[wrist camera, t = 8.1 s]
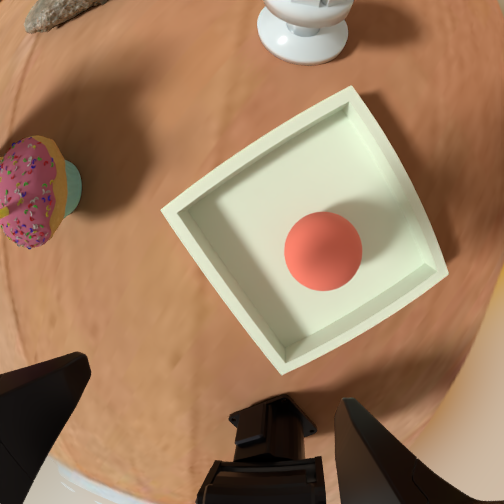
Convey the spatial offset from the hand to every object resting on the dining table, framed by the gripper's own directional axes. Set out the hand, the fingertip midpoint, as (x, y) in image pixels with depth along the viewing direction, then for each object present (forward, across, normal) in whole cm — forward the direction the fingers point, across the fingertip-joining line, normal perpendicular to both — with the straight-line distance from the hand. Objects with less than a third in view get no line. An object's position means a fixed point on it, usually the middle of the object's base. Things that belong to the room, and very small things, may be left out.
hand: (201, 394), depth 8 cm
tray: (+12, -4, -3) cm, 13 cm away
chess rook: (+12, -3, -19) cm, 22 cm away
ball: (+9, -5, -3) cm, 11 cm away
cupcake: (+12, +17, -6) cm, 21 cm away
